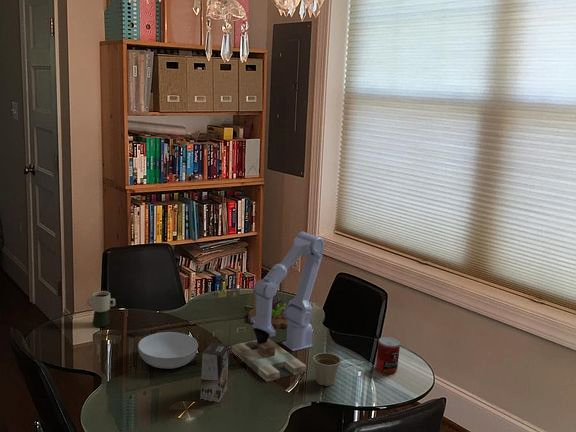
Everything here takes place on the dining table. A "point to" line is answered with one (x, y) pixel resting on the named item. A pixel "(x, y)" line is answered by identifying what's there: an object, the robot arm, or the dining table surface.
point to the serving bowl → (168, 349)
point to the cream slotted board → (268, 361)
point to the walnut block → (266, 349)
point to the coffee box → (214, 371)
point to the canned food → (387, 355)
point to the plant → (273, 315)
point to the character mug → (100, 307)
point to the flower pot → (326, 368)
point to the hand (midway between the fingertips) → (261, 347)
